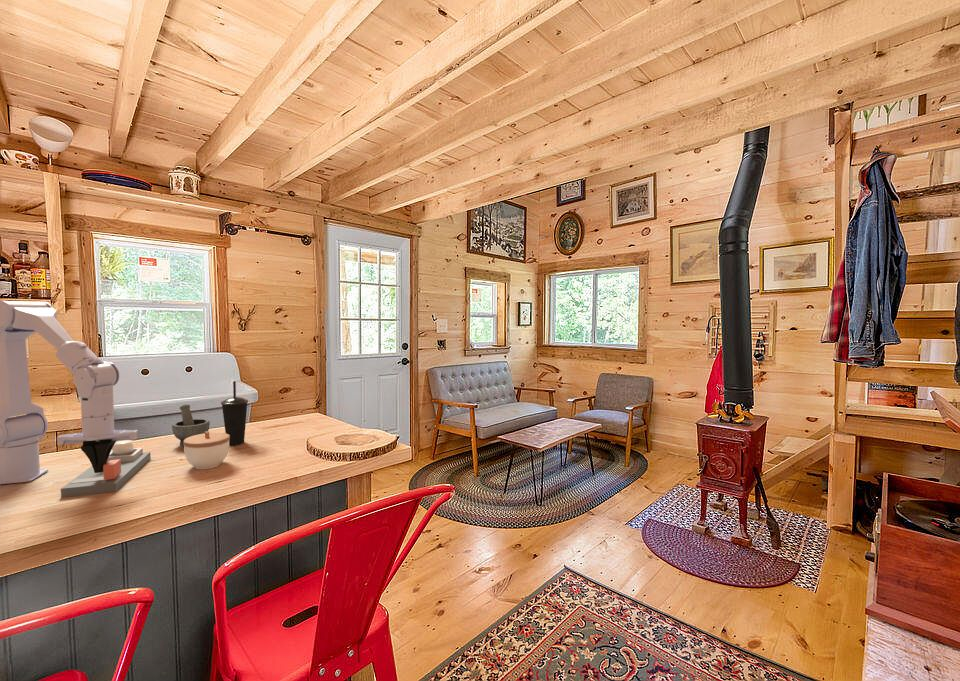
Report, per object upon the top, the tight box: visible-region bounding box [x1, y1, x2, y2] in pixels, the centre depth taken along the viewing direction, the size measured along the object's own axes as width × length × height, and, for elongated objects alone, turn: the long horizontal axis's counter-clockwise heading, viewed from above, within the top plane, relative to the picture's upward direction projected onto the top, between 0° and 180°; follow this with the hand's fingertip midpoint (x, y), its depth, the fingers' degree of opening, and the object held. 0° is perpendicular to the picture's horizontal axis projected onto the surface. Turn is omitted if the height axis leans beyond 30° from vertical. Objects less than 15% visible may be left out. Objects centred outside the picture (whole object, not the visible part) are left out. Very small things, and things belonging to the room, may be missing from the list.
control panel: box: [60, 447, 152, 498], centre depth 111 cm, size 10×24×4 cm, turn 22°
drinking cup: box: [220, 380, 249, 446], centre depth 139 cm, size 8×8×20 cm
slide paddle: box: [103, 459, 121, 480], centre depth 104 cm, size 2×4×3 cm, turn 22°
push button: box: [111, 439, 134, 454], centre depth 118 cm, size 4×4×2 cm
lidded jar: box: [183, 430, 230, 470], centre depth 119 cm, size 11×11×9 cm
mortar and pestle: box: [171, 404, 211, 448], centre depth 138 cm, size 11×9×12 cm
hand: (100, 471), depth 103 cm, fingers closed
